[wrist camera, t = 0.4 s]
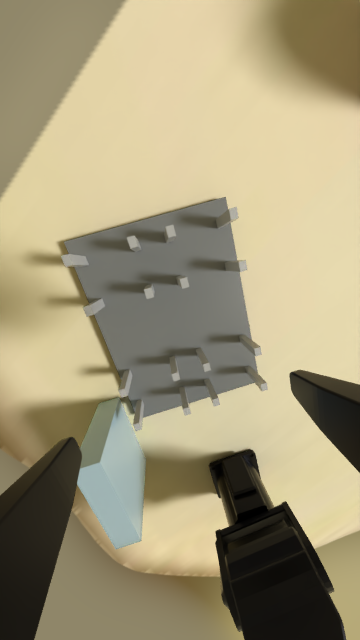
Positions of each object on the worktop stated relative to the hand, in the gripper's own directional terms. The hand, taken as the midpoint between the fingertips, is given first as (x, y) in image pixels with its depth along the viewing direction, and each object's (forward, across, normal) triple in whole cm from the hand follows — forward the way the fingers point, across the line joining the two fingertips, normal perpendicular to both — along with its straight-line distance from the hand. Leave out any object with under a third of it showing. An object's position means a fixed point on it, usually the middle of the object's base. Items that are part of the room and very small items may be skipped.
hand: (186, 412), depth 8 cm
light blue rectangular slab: (+14, +9, +12) cm, 21 cm away
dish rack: (+14, -1, 0) cm, 14 cm away
